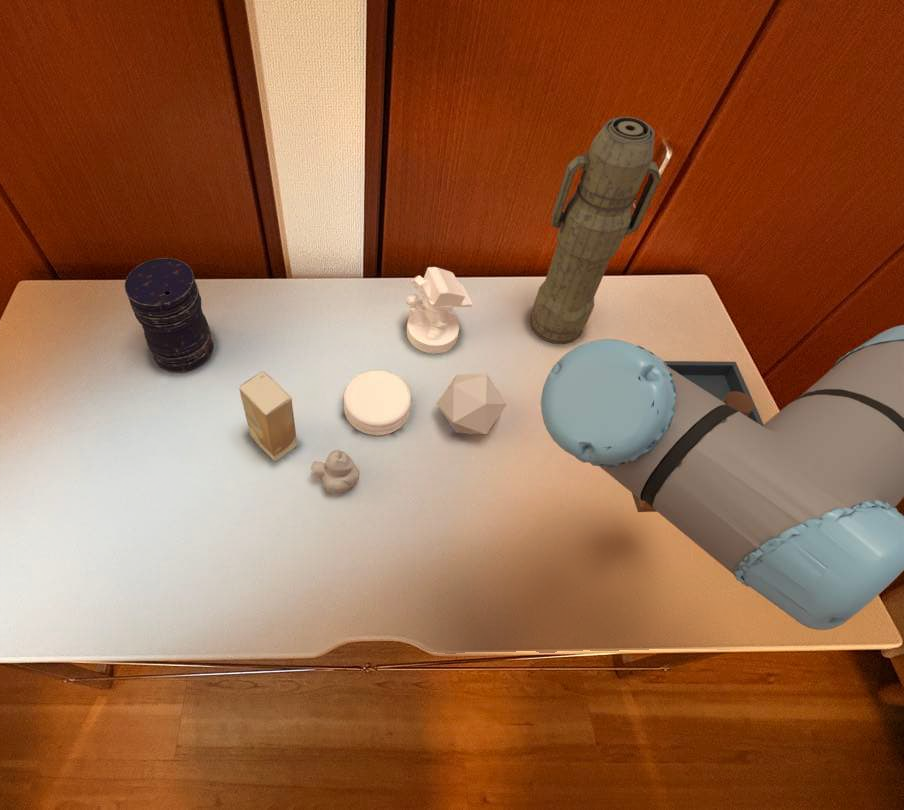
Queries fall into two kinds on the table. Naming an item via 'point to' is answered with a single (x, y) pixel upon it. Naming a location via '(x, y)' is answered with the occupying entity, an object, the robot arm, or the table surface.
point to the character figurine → (435, 311)
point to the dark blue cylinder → (170, 314)
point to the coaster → (377, 402)
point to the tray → (715, 379)
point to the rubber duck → (336, 472)
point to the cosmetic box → (269, 415)
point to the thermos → (594, 224)
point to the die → (471, 403)
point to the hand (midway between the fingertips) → (711, 449)
